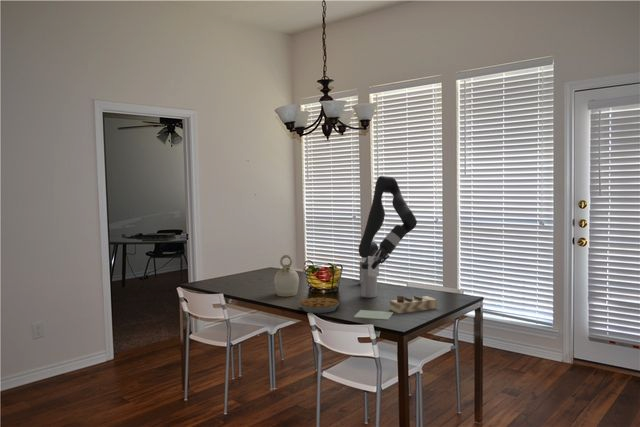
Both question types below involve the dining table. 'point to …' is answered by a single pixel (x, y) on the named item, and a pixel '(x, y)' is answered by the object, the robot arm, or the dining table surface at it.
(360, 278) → the skincare box
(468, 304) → the dining table surface
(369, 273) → the lever cap
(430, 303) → the beige notched block
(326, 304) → the pie
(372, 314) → the mat
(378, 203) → the robot arm
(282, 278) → the jug
